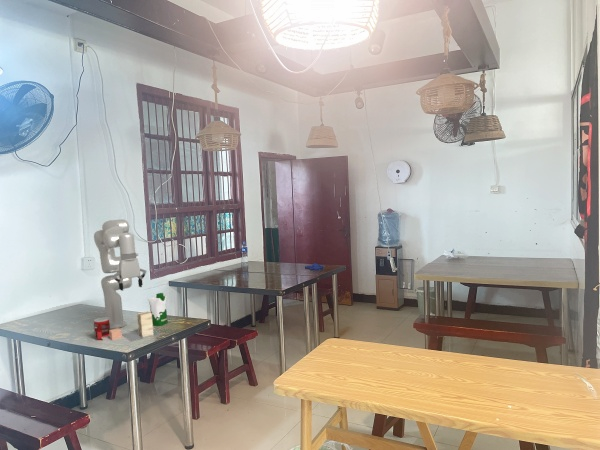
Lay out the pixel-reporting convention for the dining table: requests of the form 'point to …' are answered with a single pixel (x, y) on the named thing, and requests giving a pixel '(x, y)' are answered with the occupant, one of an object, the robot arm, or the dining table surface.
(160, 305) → the milk carton
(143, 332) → the beech block base
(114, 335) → the terracotta block
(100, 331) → the canned food
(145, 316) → the beech block mid
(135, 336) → the slate board
